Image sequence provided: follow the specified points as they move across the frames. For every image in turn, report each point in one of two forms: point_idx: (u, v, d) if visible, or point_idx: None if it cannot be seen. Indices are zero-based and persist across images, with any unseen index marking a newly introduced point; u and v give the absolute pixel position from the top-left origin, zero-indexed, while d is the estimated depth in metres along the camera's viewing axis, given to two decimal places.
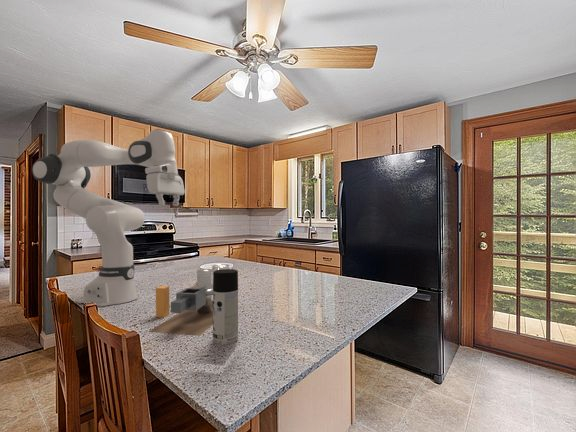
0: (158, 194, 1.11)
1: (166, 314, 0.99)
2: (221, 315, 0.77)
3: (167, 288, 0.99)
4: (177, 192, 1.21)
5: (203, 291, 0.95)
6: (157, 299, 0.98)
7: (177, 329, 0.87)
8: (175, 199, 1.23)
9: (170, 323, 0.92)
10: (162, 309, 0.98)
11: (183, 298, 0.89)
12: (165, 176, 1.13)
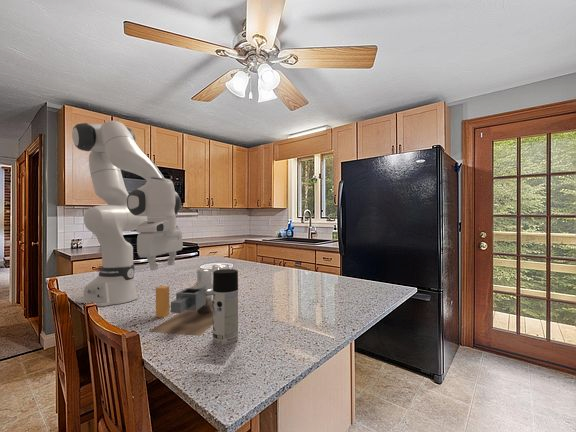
0: (150, 258, 0.92)
1: (166, 314, 0.99)
2: (221, 315, 0.77)
3: (167, 288, 0.99)
4: (174, 250, 1.02)
5: (203, 291, 0.95)
6: (157, 299, 0.98)
7: (177, 329, 0.87)
8: (171, 257, 1.04)
9: (170, 323, 0.92)
10: (162, 309, 0.98)
11: (183, 298, 0.89)
12: (160, 235, 0.94)
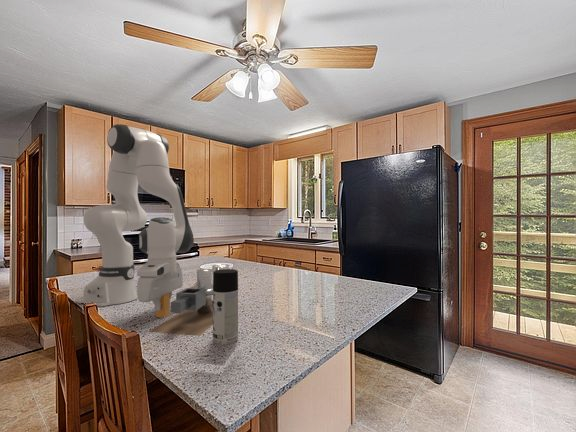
0: (155, 299, 0.95)
1: (166, 314, 0.99)
2: (221, 315, 0.77)
3: None
4: (173, 289, 1.03)
5: (203, 291, 0.95)
6: None
7: (177, 329, 0.87)
8: None
9: (170, 323, 0.92)
10: (162, 309, 0.98)
11: (183, 298, 0.89)
12: (160, 278, 0.94)
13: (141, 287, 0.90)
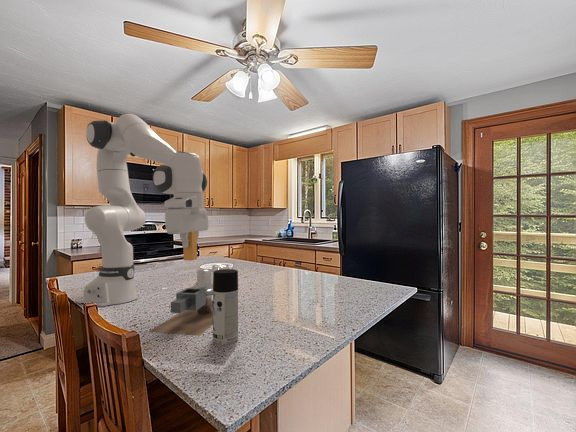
0: (183, 234, 0.90)
1: (194, 253, 0.93)
2: (221, 315, 0.77)
3: None
4: (200, 229, 0.97)
5: (203, 291, 0.95)
6: None
7: (177, 329, 0.87)
8: None
9: (170, 323, 0.92)
10: (190, 247, 0.92)
11: (183, 298, 0.89)
12: (188, 212, 0.89)
13: (169, 218, 0.84)
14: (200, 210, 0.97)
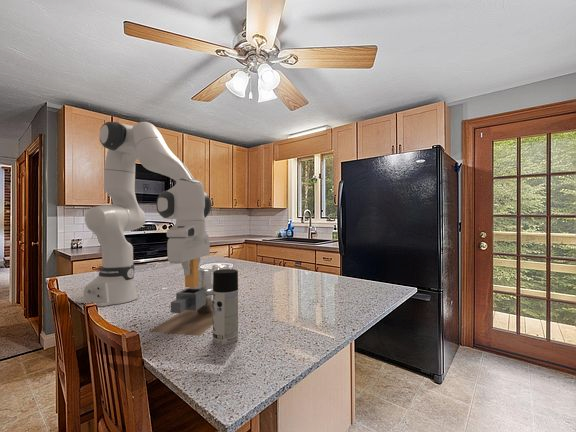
0: (184, 262, 0.90)
1: (195, 280, 0.93)
2: (221, 315, 0.77)
3: None
4: (202, 255, 0.97)
5: (203, 291, 0.95)
6: None
7: (177, 329, 0.87)
8: None
9: (170, 323, 0.92)
10: (191, 275, 0.92)
11: (183, 298, 0.89)
12: (190, 240, 0.89)
13: (172, 248, 0.84)
14: (202, 236, 0.98)
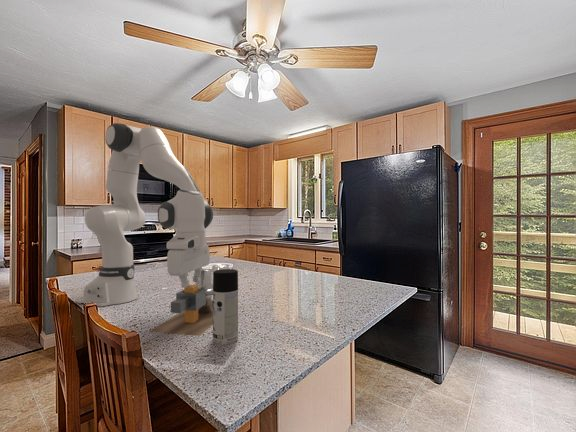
0: (182, 275, 0.89)
1: (195, 315, 0.94)
2: (221, 315, 0.77)
3: (196, 287, 0.94)
4: (202, 265, 0.97)
5: (203, 291, 0.95)
6: None
7: (177, 329, 0.87)
8: (196, 273, 0.98)
9: (170, 323, 0.92)
10: (191, 310, 0.92)
11: (183, 298, 0.89)
12: (190, 252, 0.89)
13: (171, 260, 0.84)
14: (202, 246, 0.98)
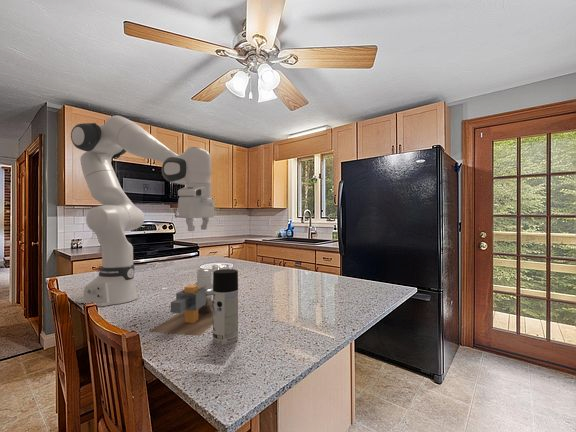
0: (188, 219, 1.02)
1: (195, 315, 0.94)
2: (221, 315, 0.77)
3: (196, 287, 0.94)
4: (207, 216, 1.12)
5: (203, 291, 0.95)
6: None
7: (177, 329, 0.87)
8: (204, 222, 1.13)
9: (170, 323, 0.92)
10: (191, 310, 0.92)
11: (183, 298, 0.89)
12: (198, 200, 1.03)
13: (182, 204, 0.99)
14: (208, 199, 1.12)
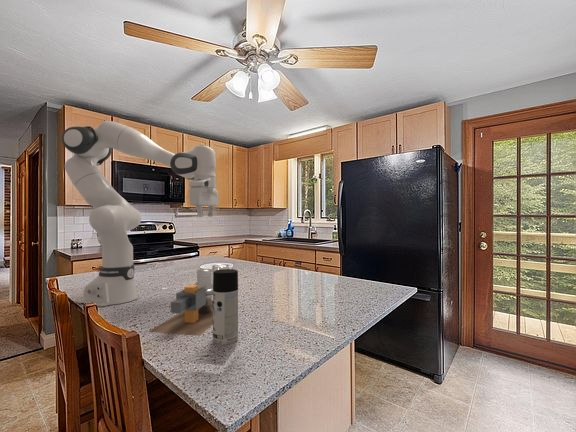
0: (198, 206, 1.20)
1: (195, 315, 0.94)
2: (221, 315, 0.77)
3: (196, 287, 0.94)
4: (213, 204, 1.30)
5: (203, 291, 0.95)
6: None
7: (177, 329, 0.87)
8: (210, 210, 1.31)
9: (170, 323, 0.92)
10: (191, 310, 0.92)
11: (183, 298, 0.89)
12: (206, 190, 1.21)
13: (192, 193, 1.16)
14: (213, 190, 1.30)
